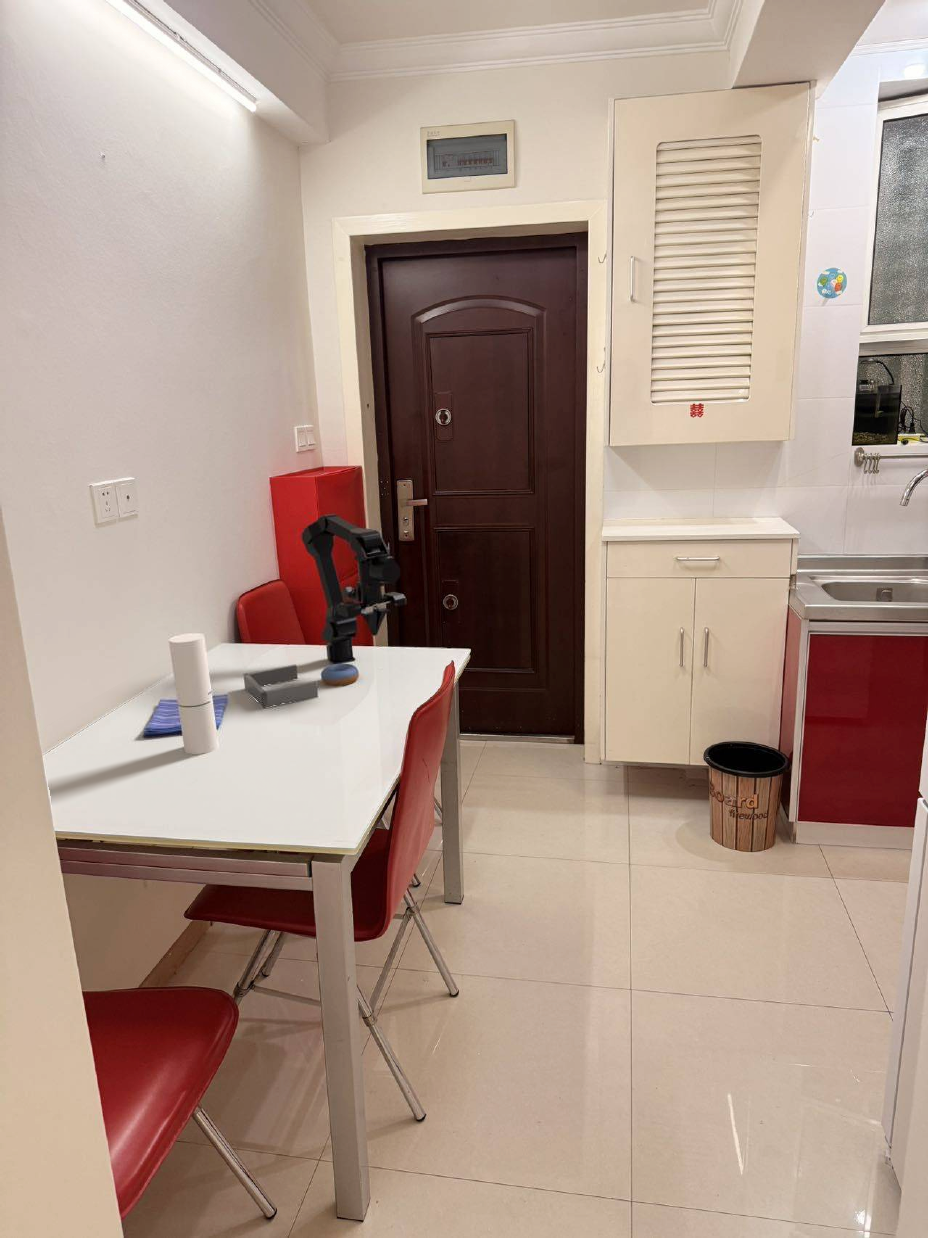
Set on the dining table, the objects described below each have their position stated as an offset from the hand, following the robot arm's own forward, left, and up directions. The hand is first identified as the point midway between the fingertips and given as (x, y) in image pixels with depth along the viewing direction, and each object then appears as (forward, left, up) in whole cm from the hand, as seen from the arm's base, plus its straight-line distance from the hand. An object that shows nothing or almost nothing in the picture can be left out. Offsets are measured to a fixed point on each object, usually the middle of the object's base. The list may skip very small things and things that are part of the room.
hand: (374, 635), depth 227 cm
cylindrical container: (+52, +26, -11) cm, 59 cm away
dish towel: (+51, +4, -11) cm, 52 cm away
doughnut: (+11, 0, -11) cm, 15 cm away
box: (+27, 0, -11) cm, 29 cm away
